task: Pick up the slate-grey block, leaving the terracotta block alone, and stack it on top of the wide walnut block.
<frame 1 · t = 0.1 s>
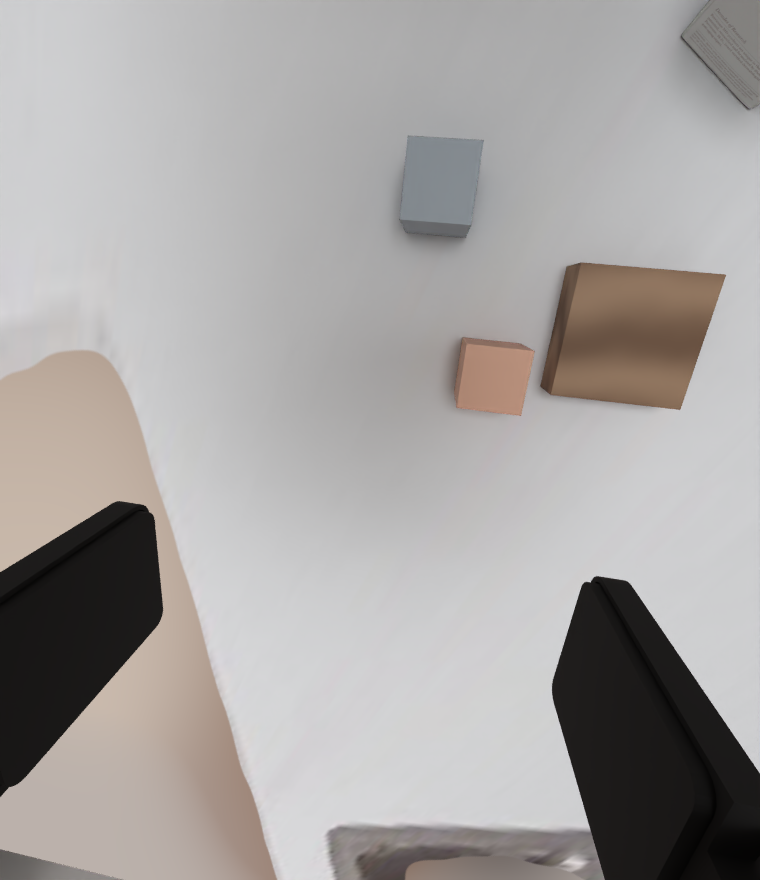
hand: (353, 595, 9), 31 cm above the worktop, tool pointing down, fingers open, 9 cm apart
walnut base: (611, 334, 35), on the worktop
grey block: (439, 201, 34), on the worktop
terracotta block: (486, 368, 37), on the worktop
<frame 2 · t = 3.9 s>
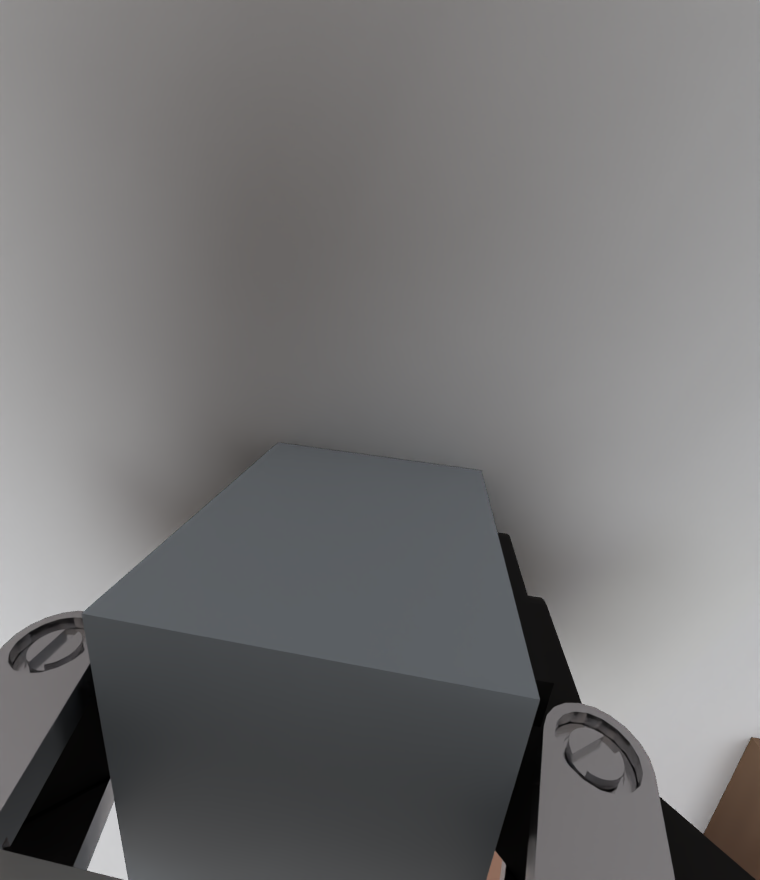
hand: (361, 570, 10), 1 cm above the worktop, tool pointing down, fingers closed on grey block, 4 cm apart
grey block: (368, 544, 11), on the worktop, touching gripper
when the fingers open (6 cm above the worktop, at t = 10.5 s): grey block drops 2 cm, point 4 cm above the worktop.
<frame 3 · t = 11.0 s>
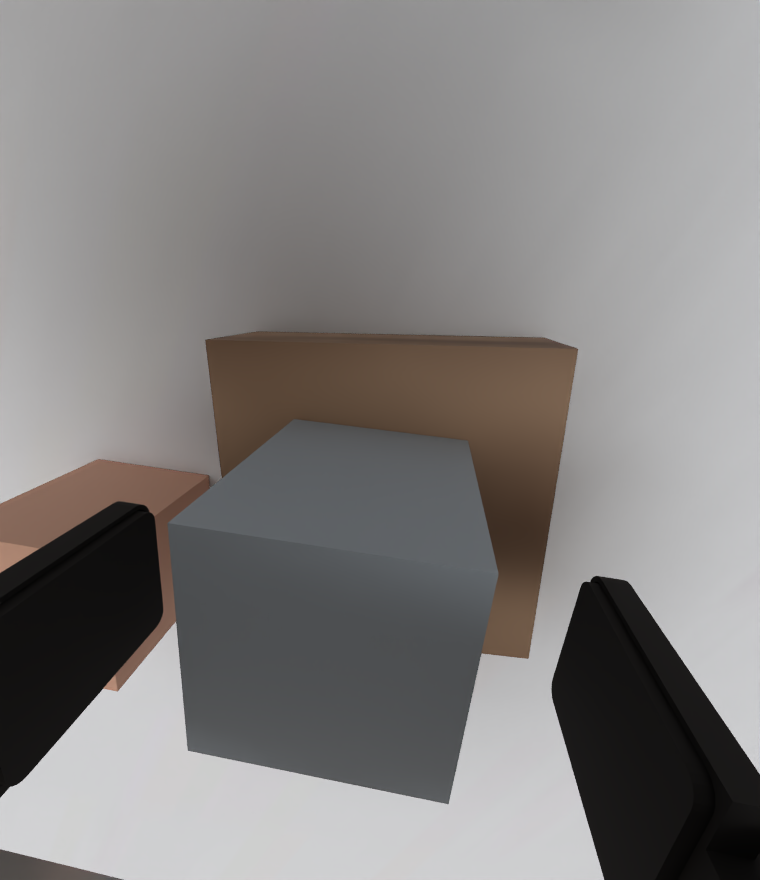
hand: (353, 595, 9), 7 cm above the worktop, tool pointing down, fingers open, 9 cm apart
walnut base: (392, 463, 16), on the worktop
grey block: (372, 507, 13), point 4 cm above the worktop
terracotta block: (158, 518, 18), on the worktop
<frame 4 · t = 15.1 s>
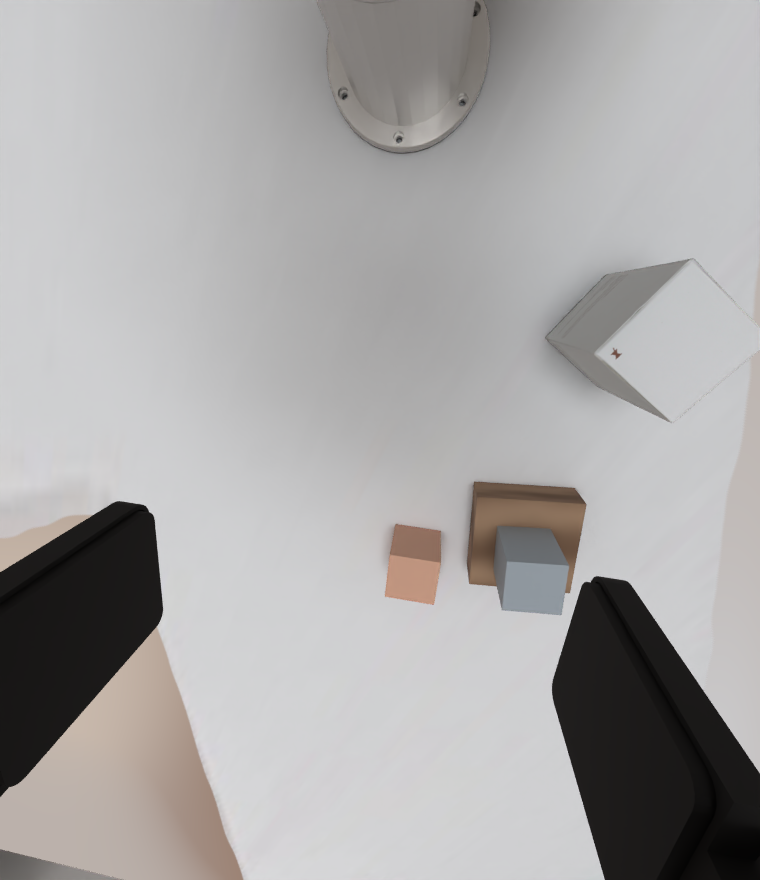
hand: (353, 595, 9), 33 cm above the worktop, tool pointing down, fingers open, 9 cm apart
walnut base: (517, 525, 45), on the worktop
supplement box: (602, 332, 37), on the worktop
grey block: (521, 549, 41), point 4 cm above the worktop
terracotta block: (415, 546, 47), on the worktop
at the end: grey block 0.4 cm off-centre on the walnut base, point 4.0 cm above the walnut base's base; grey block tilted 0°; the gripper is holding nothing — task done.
